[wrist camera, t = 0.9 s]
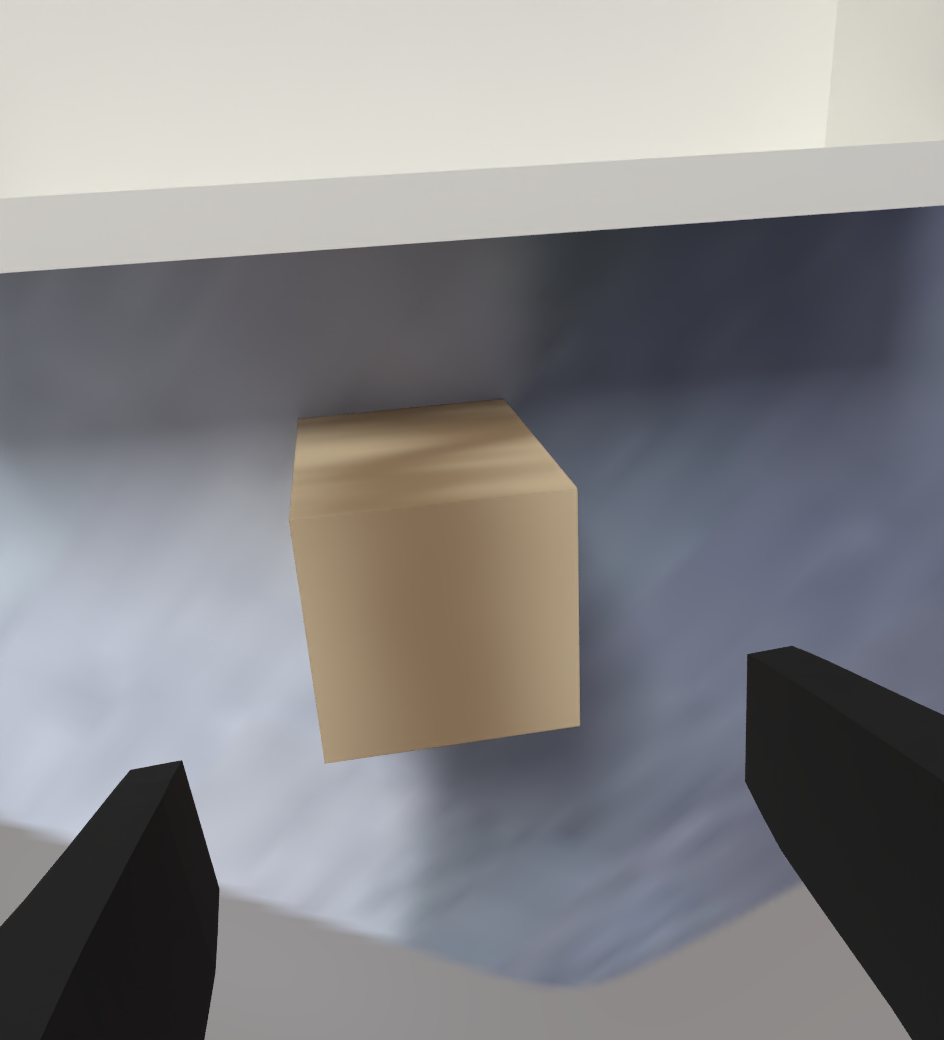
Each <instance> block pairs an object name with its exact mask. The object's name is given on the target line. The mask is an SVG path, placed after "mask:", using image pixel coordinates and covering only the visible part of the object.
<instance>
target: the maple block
mask: <svg viewBox="0 0 944 1040" xmlns="http://www.w3.org/2000/svg"><path fill="white" fill-rule="evenodd" d="M289 524H290V531H291V537H292V544H293V551H294V558H295V564H296V571H297V578H298V585H299V591H300V598H301V605H302V612H303V618H304V625H305V632H306V639H307V645H308V652H309V659H310V666H311V672H312V679H313V686H314V693H315V700H316V706H317V713H318V720H319V727H320V733H321V740H322V747H323V754H324V760H325V764H326V763H332V762H339V761H346V760H353V759H360V758H366V757H373V756H380V755H387V754H393V753H400V752H407V751H414V750H420V749H427V748H434V747H441V746H447V745H454V744H461V743H468V742H474V741H481V740H488V739H495V738H501V737H508V736H515V735H522V734H528V733H535V732H542V731H549V730H556V729H562V728H569V727H576V726H580V678H579V586H578V494H577V487H576V486H575V485H574V484H573V482H572V481H571V480H570V479H569V478H568V476H567V475H566V474H565V473H564V471H563V470H562V469H561V468H560V467H559V465H558V464H557V463H556V462H555V461H554V459H553V458H552V457H551V456H550V454H549V453H548V452H547V451H546V450H545V448H544V447H543V446H542V445H541V444H540V442H539V441H538V440H537V439H536V437H535V436H534V435H533V434H532V433H531V431H530V430H529V429H528V428H527V427H526V425H525V424H524V423H523V422H522V420H521V419H520V418H519V417H518V416H517V414H516V413H515V412H514V411H513V410H512V408H511V407H510V406H509V405H508V403H507V402H506V401H505V400H504V399H497V400H487V401H476V402H466V403H456V404H445V405H435V406H425V407H414V408H404V409H394V410H383V411H373V412H363V413H352V414H342V415H332V416H321V417H311V418H301V419H298V427H297V438H296V449H295V460H294V471H293V482H292V493H291V504H290V515H289Z"/></svg>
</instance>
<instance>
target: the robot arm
mask: <svg viewBox="0 0 944 1040" xmlns="http://www.w3.org/2000/svg"><path fill="white" fill-rule="evenodd" d="M745 782H746V784H747V786H748V788H749V790H750V792H751V794H752V796H753V798H754V800H755V802H756V804H757V806H758V808H759V810H760V812H761V814H762V816H763V818H764V820H765V821H766V823H767V825H768V827H769V829H770V831H771V832H772V834H773V836H774V838H775V840H776V842H777V843H778V845H779V847H780V849H781V851H782V852H783V854H784V855H785V857H786V858H787V860H788V861H789V863H790V864H791V865H792V867H793V868H794V870H795V871H796V873H797V874H798V876H799V877H800V879H801V880H802V881H803V883H804V884H805V886H806V887H807V889H808V890H809V891H810V893H811V894H812V896H813V897H814V899H815V900H816V902H817V903H818V904H819V906H820V907H821V909H822V910H823V911H824V913H825V914H826V916H827V917H828V919H829V920H830V921H831V923H832V924H833V926H834V927H835V929H836V930H837V931H838V933H839V934H840V936H841V937H842V938H843V940H844V941H845V942H846V944H847V945H848V947H849V948H850V950H851V951H852V953H853V954H854V955H855V957H856V958H857V960H858V961H859V962H860V964H861V965H862V967H863V968H864V969H865V971H866V972H867V974H868V975H869V977H870V978H871V979H872V981H873V982H874V984H875V985H876V987H877V988H878V989H879V991H880V992H881V994H882V995H883V996H884V998H885V999H886V1001H887V1002H888V1004H889V1005H890V1006H891V1008H892V1009H893V1011H894V1013H895V1014H896V1015H897V1017H898V1019H899V1020H900V1022H901V1023H902V1025H903V1026H904V1028H905V1029H906V1031H907V1032H908V1034H909V1036H910V1037H911V1039H912V1040H944V715H942V714H940V713H938V712H936V711H933V710H931V709H929V708H927V707H925V706H923V705H920V704H918V703H916V702H914V701H912V700H910V699H908V698H905V697H903V696H901V695H899V694H897V693H895V692H893V691H891V690H888V689H886V688H884V687H882V686H880V685H878V684H876V683H874V682H872V681H870V680H867V679H865V678H863V677H861V676H859V675H857V674H855V673H853V672H851V671H848V670H846V669H844V668H842V667H840V666H838V665H836V664H833V663H831V662H829V661H827V660H825V659H822V658H820V657H818V656H816V655H813V654H811V653H809V652H806V651H804V650H801V649H799V648H796V647H794V646H789V647H783V648H778V649H773V650H767V651H762V652H757V653H751V654H748V655H747V709H746V763H745ZM218 910H219V886H218V883H217V879H216V876H215V872H214V869H213V865H212V862H211V859H210V855H209V852H208V848H207V845H206V841H205V838H204V834H203V831H202V828H201V824H200V821H199V817H198V814H197V810H196V807H195V803H194V800H193V797H192V793H191V790H190V786H189V783H188V779H187V776H186V772H185V769H184V766H183V762H182V760H181V761H176V762H170V763H165V764H160V765H154V766H149V767H144V768H138V769H133V770H130V771H129V772H128V773H127V775H126V776H125V777H124V778H123V779H122V780H121V782H120V783H119V784H118V785H117V787H116V788H115V789H114V790H113V792H112V793H111V794H110V795H109V797H108V798H107V799H106V800H105V802H104V803H103V804H102V805H101V807H100V808H99V809H98V810H97V812H96V813H95V814H94V815H93V817H92V818H91V819H90V820H89V822H88V823H87V824H86V825H85V827H84V828H83V829H82V830H81V832H80V833H79V834H78V835H77V837H76V838H75V839H74V840H73V842H72V843H71V844H70V845H69V846H68V848H67V849H66V850H65V851H64V853H63V854H62V855H61V856H60V858H59V859H58V860H57V861H56V862H55V864H54V865H53V866H52V867H51V868H50V870H49V871H48V872H47V873H46V875H45V876H44V877H43V878H42V879H41V881H40V882H39V883H38V884H37V885H36V887H35V888H34V889H33V890H32V891H31V893H30V894H29V895H28V896H27V897H26V899H25V900H24V901H23V902H22V903H21V904H20V905H19V907H18V908H17V909H16V910H15V911H14V912H13V913H12V914H11V915H10V917H9V918H8V919H7V920H6V921H5V922H4V923H3V925H2V926H0V1040H204V1038H205V1032H206V1026H207V1020H208V1014H209V1008H210V1002H211V996H212V990H213V984H214V977H215V969H216V952H217V936H218Z"/></svg>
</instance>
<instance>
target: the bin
mask: <svg viewBox="0 0 944 1040" xmlns="http://www.w3.org/2000/svg"><path fill="white" fill-rule="evenodd" d="M939 205H944V0H0V273H11V272H25V271H39V270H53V269H67V268H80V267H94V266H108V265H122V264H136V263H150V262H164V261H177V260H191V259H205V258H219V257H233V256H247V255H261V254H274V253H288V252H302V251H316V250H330V249H344V248H357V247H371V246H385V245H399V244H413V243H427V242H441V241H454V240H468V239H482V238H496V237H510V236H524V235H538V234H551V233H565V232H579V231H593V230H607V229H621V228H635V227H648V226H662V225H676V224H690V223H704V222H718V221H732V220H745V219H759V218H773V217H787V216H801V215H815V214H829V213H842V212H856V211H870V210H884V209H898V208H912V207H926V206H939Z"/></svg>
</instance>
